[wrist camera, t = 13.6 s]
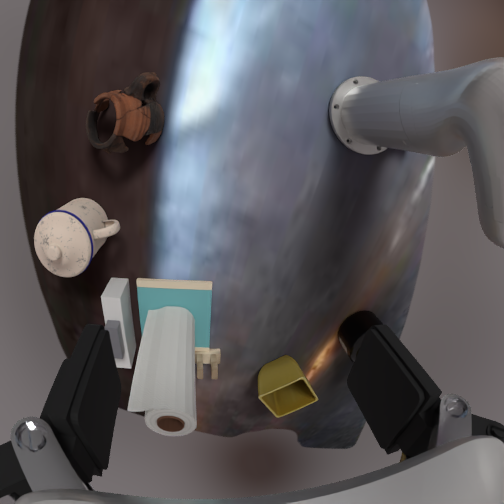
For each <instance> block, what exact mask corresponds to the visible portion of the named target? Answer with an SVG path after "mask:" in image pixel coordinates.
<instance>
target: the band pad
mask: <svg viewBox="0 0 504 504" xmlns="http://www.w3.org/2000/svg"><path fill="white" fill-rule="evenodd" d="M137 291H138V303H139V313H140V323H141V331H142V335H143V331H144V326H145V322H146V318H147V314H148V310H156V309H160V308H163V307H165V306H176V307H183V308H185V309H187V310H188V311H189V312H191V313H192V315H193V317H194V319H195V351H209V342H210V317H211V296H212V281H190V280H166V279H145V278H137Z"/></svg>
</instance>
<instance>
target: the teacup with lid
mask: <svg viewBox="0 0 504 504" xmlns="http://www.w3.org/2000/svg"><path fill="white" fill-rule="evenodd" d="M119 230H120V224H119V222H118V221H117V220H108V218H107V216H106V214H105V212H104V210H103V209H102V207H101V206H100V205H99V204H97V203H96V202H95V201H93V200H90V199H87V198H78V199H74V200H72V201H71V202H69V203H67V204H66V205H64V206H62V207H61V208H59V209H57V210H55V211H51V212H49V213H47V214H46V215H45V216H43V218H42V219H41V220H40V221H39V223H38V225H37V227H36V231H35V236H34V244H35V250H36V253H37V255H38V258H39V259H40V261H41V263H42V264H43V265H44V266H45V267H46V268H47V269H48V270H49V271H50V272H52V273H53V274H55V275H58V276H61V277H74V276H77V275H79V274H81V273H82V272H84V271H85V270H86V269H87V267H88V266H89V264H90V262H91V260H92V258H93V257H94V255H95V254H96V253H97V252H98V250H99V249H100V248H101V247H102V245H103V244H104V243H105V241H106V239H107V237H109V236H112V235H114V234H116V233H117V232H118V231H119Z"/></svg>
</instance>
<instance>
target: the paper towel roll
mask: <svg viewBox="0 0 504 504" xmlns="http://www.w3.org/2000/svg"><path fill="white" fill-rule="evenodd" d="M127 411H131V412H139V411H145V423H146V425H147V426H148V427H149V428H150V429H151V430H153V431H154V432H156V433H158V434H162V435H166V436H175V437H177V436H184V435H187V434H189V433H192V432H193V431H194V430H195V429H196V425H197V419H196V390H195V319H194V317H193V315H192V313H191V312H189V311H188V310H187V309H185V308H183V307H176V306H165V307H163V308H160V309H156V310H148V314H147V318H146V322H145V326H144V331H143V335H142V339H141V344H140V348H139V353H138V357H137V362H136V367H135V372H134V377H133V382H132V387H131V393H130V398H129V404H128V410H127Z"/></svg>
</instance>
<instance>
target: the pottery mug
mask: <svg viewBox="0 0 504 504" xmlns="http://www.w3.org/2000/svg"><path fill="white" fill-rule="evenodd" d="M159 86H160V81H159V78H158V76H157V75H156V74H155V73H154V72H151V73H142V74H140V75H139V76H138V77H137V78H136V79H135V80H134V81H133V83H132V84H131V85H130V86H129V87H127V88H125V89H124V93H125V94H123V93H122V94H120V93H121V90H115V91H111V92H109V93H107V92H106V93H102V94H100V95H98V96H97V97H96V98H95V100H94V104H97V105H96V107H95V109H94V111H91V110H90V111H88V113H87V117H86V132H87V136H88V139H89V141H90V143H91V144H92V146H94V147H95V148H97V149H102V150H104V151H105V152H107V153H109V154H111V151H113V152H120V153H124V152H126V151H128V150H129V148H128V147H127V146H125V144H124V141H123V136H124V137H126V138H128V139H130V140H132V141H138V140H140V139H141V138H142V137H143V135H145V136H146V135H149V134H150V136H149V138H148V139H147V141H146V142H145V144H146V145H149V144H152V143H154V142H156V140H157V139H158V138H159V136H160V134H161V132H162V130H163V126H164V112H163V110H162V107H161V105H160V104H158V103H157V102H156V101H155V100H156V94H157V91H158V89H159ZM109 99H110V100H111V101H112V102H113V104H114V106H115V109H116V119H117V120H116V125H115V129H114V132H113V134H112V136H111V137H110V139H109V140H108V141H106V142H105V143H101V142H100V140H99V139H98V133H97V126H96V124H97V120H98V116H99V114H100V112H101V111H103V110H105V109H107V107H108V105H109ZM141 101H143V102H144V103H145V104H146V105H145V106H142V102H141Z"/></svg>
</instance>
